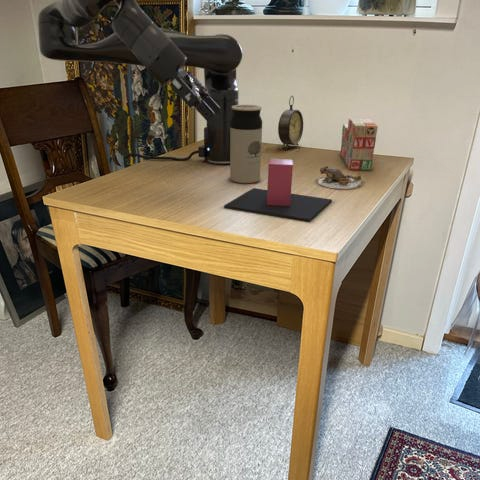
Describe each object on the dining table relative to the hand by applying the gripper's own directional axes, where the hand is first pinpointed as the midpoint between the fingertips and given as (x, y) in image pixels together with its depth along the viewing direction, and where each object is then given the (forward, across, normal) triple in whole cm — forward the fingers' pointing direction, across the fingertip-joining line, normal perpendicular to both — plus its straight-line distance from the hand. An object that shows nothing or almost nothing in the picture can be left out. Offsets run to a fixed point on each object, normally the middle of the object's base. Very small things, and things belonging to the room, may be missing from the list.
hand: (214, 115), depth 108 cm
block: (+23, +3, -2) cm, 23 cm away
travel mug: (+17, -18, -9) cm, 26 cm away
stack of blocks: (+39, -44, +13) cm, 60 cm away
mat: (+24, +3, -2) cm, 24 cm away
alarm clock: (+25, -62, -1) cm, 67 cm away
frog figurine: (+34, -18, +8) cm, 40 cm away
